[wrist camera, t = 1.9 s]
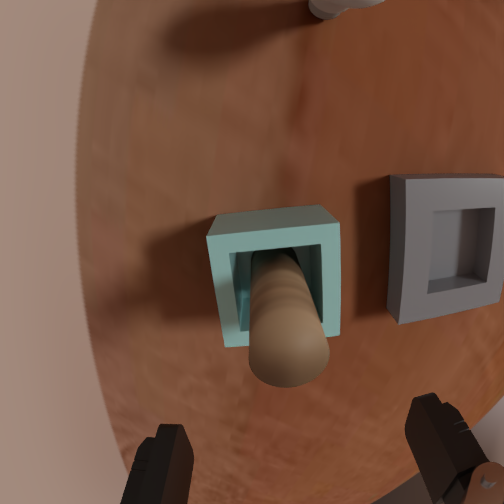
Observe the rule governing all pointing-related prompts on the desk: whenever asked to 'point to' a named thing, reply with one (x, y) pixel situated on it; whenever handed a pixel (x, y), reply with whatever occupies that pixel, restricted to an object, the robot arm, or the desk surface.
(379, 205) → the desk surface
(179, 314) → the desk surface
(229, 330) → the mint green open box
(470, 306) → the stand
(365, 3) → the lightbulb
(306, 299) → the dowel
